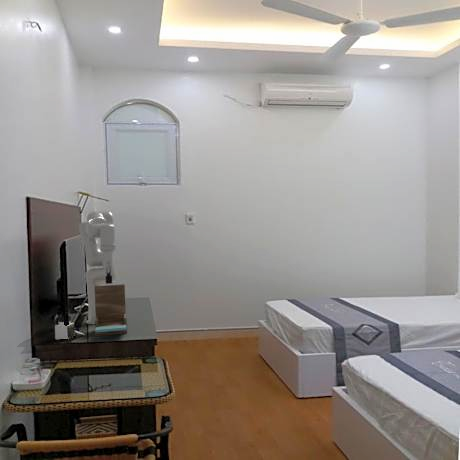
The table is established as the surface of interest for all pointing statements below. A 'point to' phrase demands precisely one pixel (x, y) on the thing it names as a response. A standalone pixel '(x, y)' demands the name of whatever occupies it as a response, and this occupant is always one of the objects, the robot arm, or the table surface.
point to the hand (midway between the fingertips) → (109, 283)
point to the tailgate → (110, 328)
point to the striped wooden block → (110, 308)
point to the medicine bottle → (64, 329)
